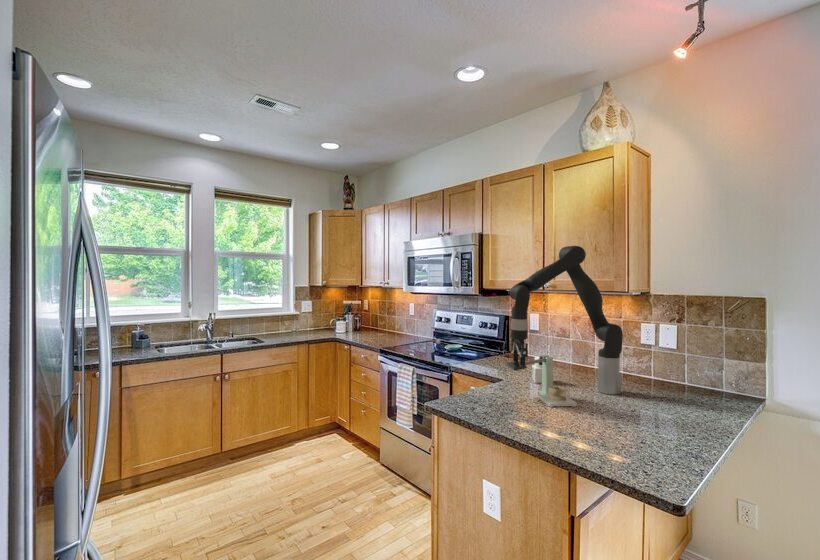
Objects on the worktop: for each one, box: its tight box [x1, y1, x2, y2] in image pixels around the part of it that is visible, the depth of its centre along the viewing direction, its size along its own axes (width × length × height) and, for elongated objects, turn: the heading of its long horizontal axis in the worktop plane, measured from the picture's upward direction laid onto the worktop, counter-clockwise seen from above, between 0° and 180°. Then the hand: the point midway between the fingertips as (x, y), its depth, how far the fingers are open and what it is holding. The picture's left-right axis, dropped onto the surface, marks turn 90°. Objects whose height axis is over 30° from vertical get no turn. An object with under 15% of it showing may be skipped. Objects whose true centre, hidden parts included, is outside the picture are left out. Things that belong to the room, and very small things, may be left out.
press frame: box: [537, 355, 578, 407], centre depth 175 cm, size 12×18×18 cm, turn 6°
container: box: [531, 355, 544, 384], centre depth 205 cm, size 8×8×13 cm
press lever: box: [505, 355, 551, 372], centre depth 180 cm, size 20×10×2 cm, turn 95°
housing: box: [548, 386, 567, 401], centre depth 172 cm, size 6×5×5 cm
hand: (518, 363), depth 180 cm, fingers open, 8 cm apart
